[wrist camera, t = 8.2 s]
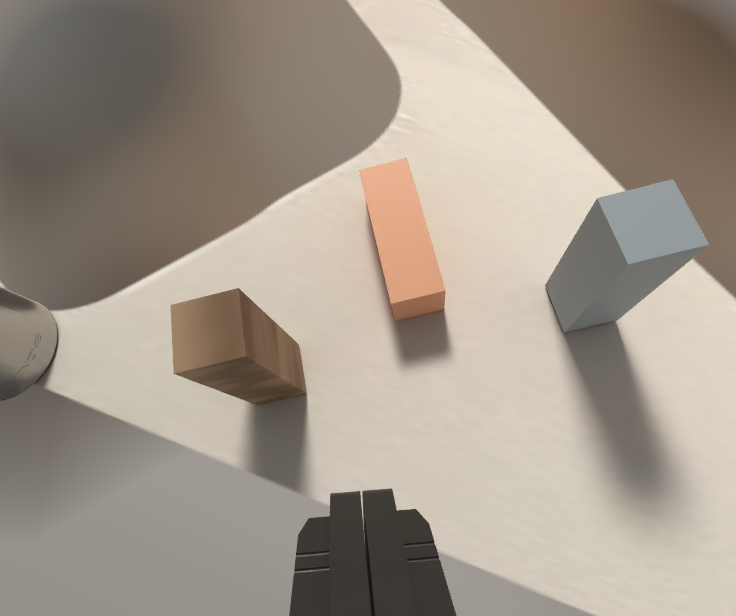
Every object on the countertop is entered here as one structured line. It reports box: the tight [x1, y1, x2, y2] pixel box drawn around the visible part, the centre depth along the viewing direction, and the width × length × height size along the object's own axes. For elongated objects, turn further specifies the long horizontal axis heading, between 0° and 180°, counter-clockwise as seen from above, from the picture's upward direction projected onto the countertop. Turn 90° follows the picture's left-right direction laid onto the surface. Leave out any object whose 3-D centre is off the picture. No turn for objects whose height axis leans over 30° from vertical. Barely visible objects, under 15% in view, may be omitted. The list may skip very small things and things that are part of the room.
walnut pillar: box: [171, 288, 306, 405], centre depth 30 cm, size 4×4×12 cm
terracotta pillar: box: [359, 158, 445, 321], centre depth 36 cm, size 4×4×12 cm
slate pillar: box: [545, 179, 709, 333], centre depth 29 cm, size 4×4×12 cm
